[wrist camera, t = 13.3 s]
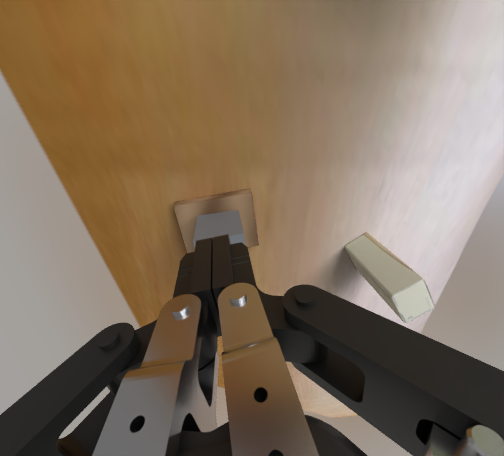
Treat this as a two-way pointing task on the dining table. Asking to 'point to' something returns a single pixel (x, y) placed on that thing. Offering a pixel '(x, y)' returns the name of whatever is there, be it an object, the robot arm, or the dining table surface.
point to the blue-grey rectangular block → (219, 226)
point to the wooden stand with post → (216, 204)
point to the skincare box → (390, 278)
